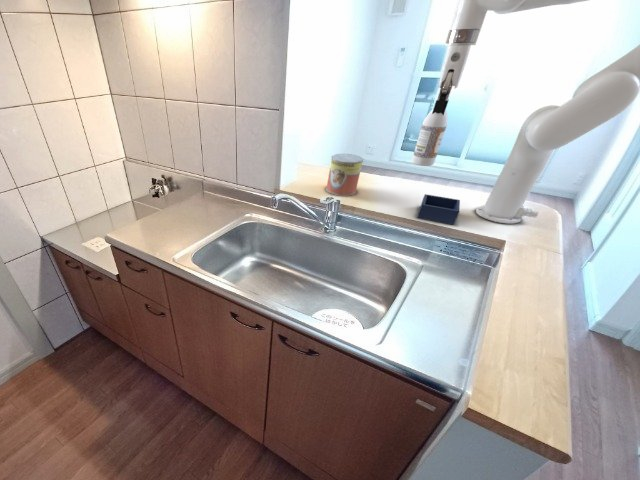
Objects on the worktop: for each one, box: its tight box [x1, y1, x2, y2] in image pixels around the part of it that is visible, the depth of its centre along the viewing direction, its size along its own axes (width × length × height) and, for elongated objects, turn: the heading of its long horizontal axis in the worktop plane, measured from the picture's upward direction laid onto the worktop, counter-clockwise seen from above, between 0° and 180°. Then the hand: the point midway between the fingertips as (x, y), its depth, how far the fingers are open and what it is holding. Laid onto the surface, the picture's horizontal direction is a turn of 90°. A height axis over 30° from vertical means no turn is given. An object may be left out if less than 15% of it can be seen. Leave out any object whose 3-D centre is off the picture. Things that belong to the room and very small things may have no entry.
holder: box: [416, 193, 461, 226], centre depth 106 cm, size 11×11×4 cm
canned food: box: [325, 153, 364, 197], centre depth 122 cm, size 11×11×12 cm
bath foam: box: [411, 93, 451, 167], centre depth 103 cm, size 7×7×20 cm
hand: (438, 114), depth 100 cm, fingers closed on bath foam, 2 cm apart
